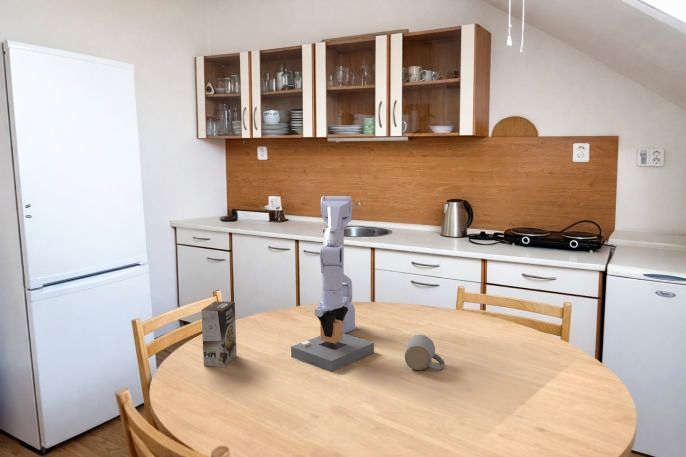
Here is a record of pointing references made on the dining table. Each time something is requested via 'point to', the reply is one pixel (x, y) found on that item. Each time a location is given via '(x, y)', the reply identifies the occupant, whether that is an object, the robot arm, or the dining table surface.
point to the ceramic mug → (422, 353)
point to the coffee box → (219, 333)
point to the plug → (336, 334)
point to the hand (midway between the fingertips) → (332, 334)
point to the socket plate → (332, 351)
